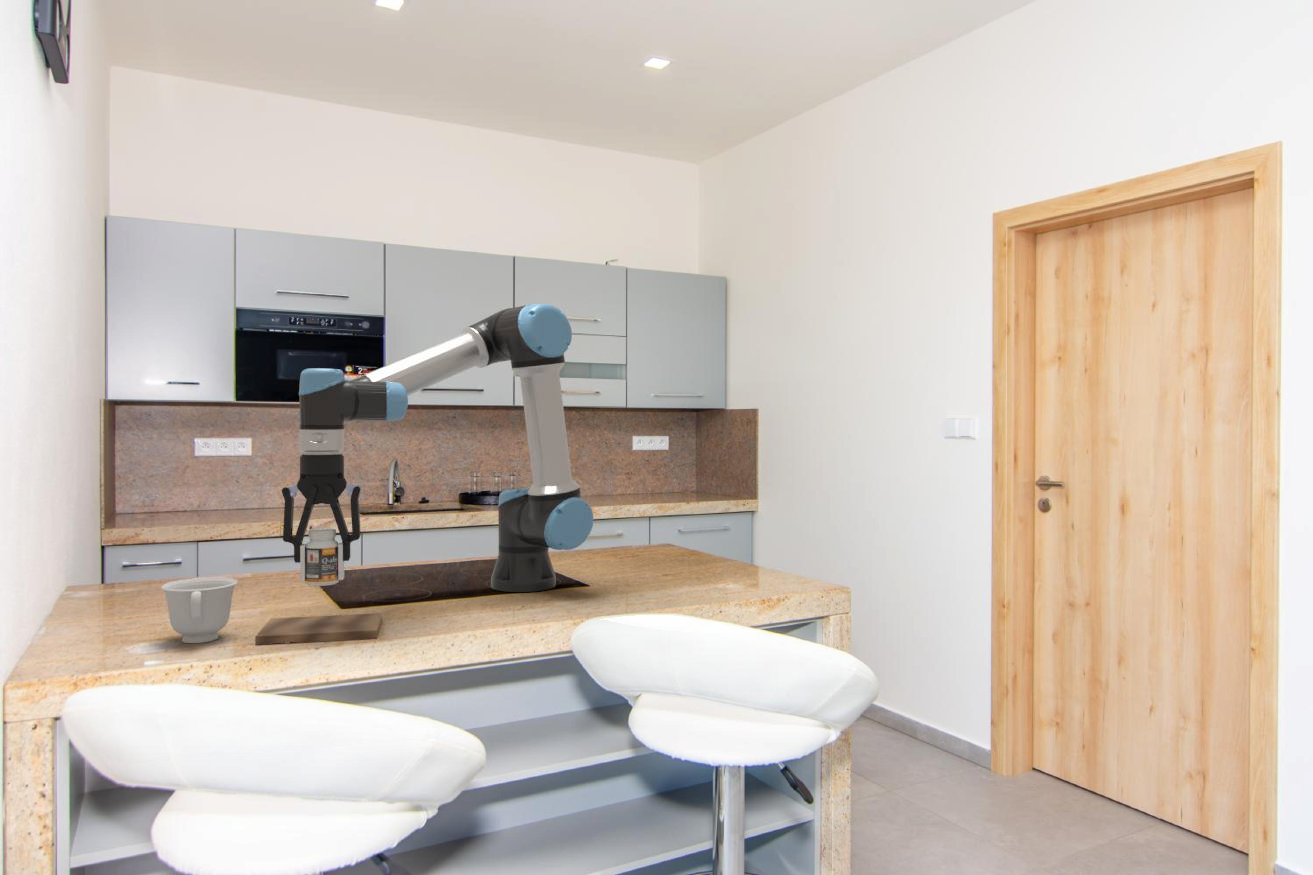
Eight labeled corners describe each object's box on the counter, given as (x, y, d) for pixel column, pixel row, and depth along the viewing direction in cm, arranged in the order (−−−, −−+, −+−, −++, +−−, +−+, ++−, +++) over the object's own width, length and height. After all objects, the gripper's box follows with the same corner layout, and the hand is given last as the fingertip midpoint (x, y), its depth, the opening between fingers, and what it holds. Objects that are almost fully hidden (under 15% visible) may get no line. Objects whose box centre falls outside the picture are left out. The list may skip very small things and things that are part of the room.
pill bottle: (327, 587, 154) (327, 532, 154) (299, 586, 155) (298, 531, 155) (345, 581, 160) (345, 528, 160) (317, 580, 161) (317, 527, 161)
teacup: (154, 655, 142) (153, 595, 141) (165, 634, 155) (165, 579, 155) (235, 648, 146) (235, 589, 146) (239, 628, 160) (239, 575, 160)
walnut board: (381, 620, 167) (381, 613, 167) (376, 638, 153) (376, 630, 153) (270, 626, 162) (270, 618, 162) (255, 645, 148) (255, 636, 148)
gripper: (262, 454, 151) (263, 585, 152) (374, 453, 156) (374, 580, 156) (270, 452, 158) (271, 577, 159) (377, 452, 163) (377, 573, 163)
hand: (322, 579), depth 158 cm, fingers closed on pill bottle, 6 cm apart
